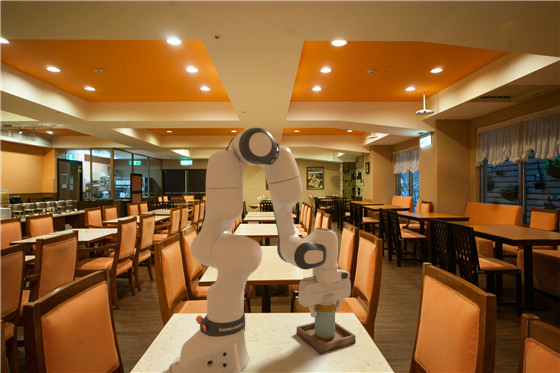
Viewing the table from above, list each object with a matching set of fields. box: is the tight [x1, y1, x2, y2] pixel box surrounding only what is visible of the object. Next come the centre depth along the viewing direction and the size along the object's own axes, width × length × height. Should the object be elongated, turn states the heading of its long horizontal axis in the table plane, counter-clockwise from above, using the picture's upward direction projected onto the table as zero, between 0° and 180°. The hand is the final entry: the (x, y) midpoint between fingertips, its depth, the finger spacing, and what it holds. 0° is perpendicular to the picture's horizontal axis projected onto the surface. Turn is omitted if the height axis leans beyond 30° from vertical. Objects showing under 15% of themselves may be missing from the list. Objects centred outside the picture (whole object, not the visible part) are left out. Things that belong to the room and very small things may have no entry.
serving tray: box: [296, 321, 357, 355], centre depth 105 cm, size 15×15×2 cm
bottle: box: [314, 294, 336, 340], centre depth 105 cm, size 7×7×15 cm
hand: (325, 313), depth 105 cm, fingers open, 8 cm apart
